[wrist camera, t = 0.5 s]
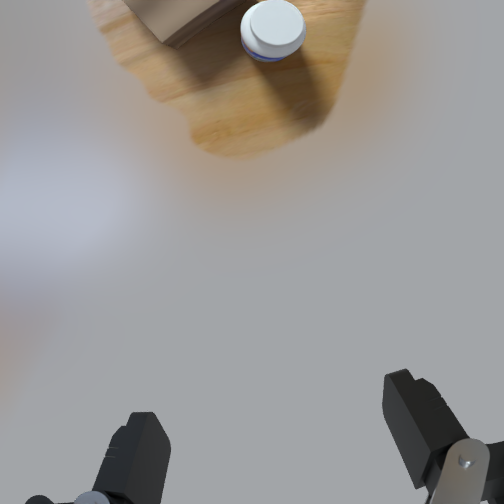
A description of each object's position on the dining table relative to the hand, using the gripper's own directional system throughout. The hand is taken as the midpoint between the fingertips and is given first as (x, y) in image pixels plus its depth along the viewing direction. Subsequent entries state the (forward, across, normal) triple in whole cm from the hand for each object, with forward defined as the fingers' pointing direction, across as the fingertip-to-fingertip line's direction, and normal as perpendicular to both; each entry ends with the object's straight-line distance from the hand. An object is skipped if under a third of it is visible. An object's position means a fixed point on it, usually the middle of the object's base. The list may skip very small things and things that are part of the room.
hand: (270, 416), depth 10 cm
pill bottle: (+25, -5, -20) cm, 32 cm away
